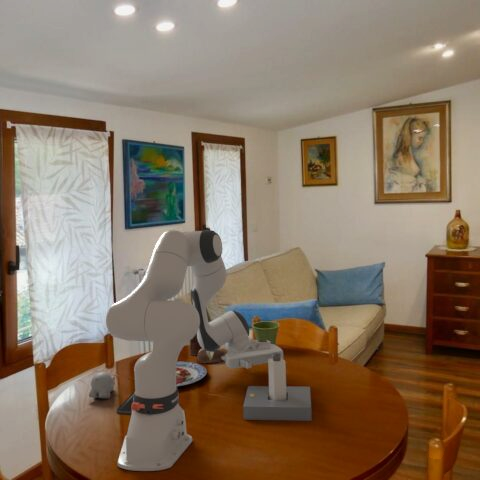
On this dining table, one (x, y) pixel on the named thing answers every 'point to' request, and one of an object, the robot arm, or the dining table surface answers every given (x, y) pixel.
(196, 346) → the wooden figurine
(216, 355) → the bread
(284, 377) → the white square bottle
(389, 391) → the dining table surface
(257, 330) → the plant pot
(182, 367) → the ceramic plate
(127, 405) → the phone
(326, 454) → the dining table surface
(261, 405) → the block
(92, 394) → the chubby cartoon animal
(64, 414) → the dining table surface
